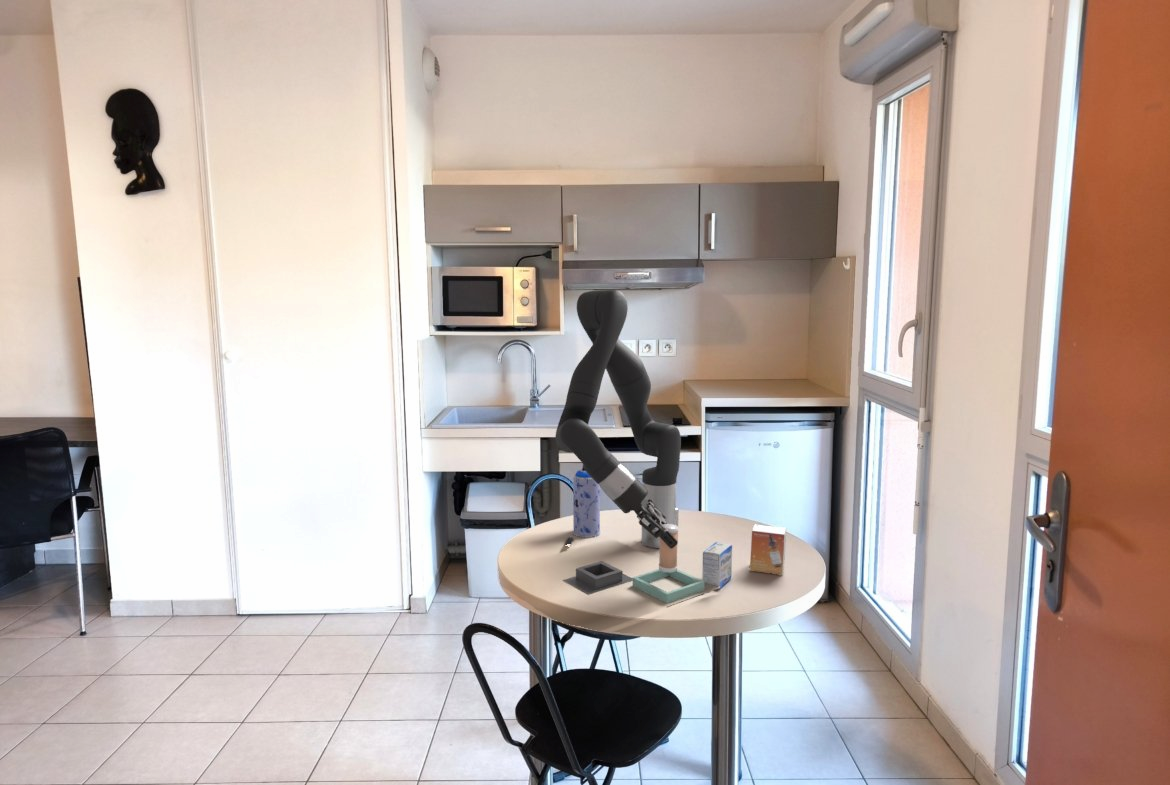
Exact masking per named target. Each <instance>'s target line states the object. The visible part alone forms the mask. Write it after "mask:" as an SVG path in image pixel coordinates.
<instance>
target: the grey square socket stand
mask: <svg viewBox="0 0 1170 785" xmlns="http://www.w3.org/2000/svg"><path fill="white" fill-rule="evenodd" d="M562 582H564V583H566V584H568V585H569V586H572V587H573V588H575V589H577V590H579V591H581V592H582V593H584V594H586V595H588V596H590V595H593V594H595V593H598V592H601V591H604V590H607V589H610V588H614V587H617V586H620V585H624V584H626V583H630V582H633V577H631V576H629V575H627V574H625V573H623V571H622V570H621V569H619V568H617V567H615V566H612V565H611V564H608V563H606V562H605V561H602V560H601V561H597V562H594V563H591V564H587V565H584V566H580V567H576V568H575V576H572V577H569V578H566V579H562Z"/></svg>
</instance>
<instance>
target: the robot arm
mask: <svg viewBox="0 0 1170 785" xmlns="http://www.w3.org/2000/svg"><path fill="white" fill-rule="evenodd" d="M576 313H577V316H578V320H579V322H580V325H581V326H582V328H583V330H584V331H585V333H586V336H587V337H588V338H589V340H590V342H591V343H592V345H591V347H590V348H589V350H588V351H587V352H586V353H585V355H584V356H583V357H582V358H581V359H580V361H579V362H578V364H577V365H576V367H575V369H574V371H573V372H572V375H571V379H570V382H569V387H568V391H567V394H566V399H565V403H564V404H565V405H564V407H563V410H562V413H561V415H560V418H559V421H558V423H557V427H556V430H555V431H556V432H555V436H554V437H555V443H556V445H557V447H558V448H559V450H561V451H563V452H564V453H573V455H574V456H576V458H577V459H578V460H580V462H581V463H582V466H583V467H584V469H585V471H586V472H587V473H588V474H589V475H590V476H591V478H592V479H593V480H594V481H595V482H596V483H597V484H598V485H599V486H600V490H602V491H603V493H604V494H605V495H606V496H607V497H608V498H609V499H610V500H611V501H612V502H613V503H614V504H615V505H616V506H617V508H619V509H620V510H621V511H622V512H623V514H629V513H630V512H632V511H633V512H634V513H635V514H636V518H637V520H638V523H639V525H640V527H641V544H642V545H643V546H646V547H648V548H655V549H660V538H661V539H662V540H663V541H664V542H665V543H666V544H667V545H668V546H669V547H670V548H671V549H672V548H674V547H675V546H676V545H677V546H678V543H679V540H678V541H677V540H676V539H675V538H674V537H673V536H672V535H671V534H670V533H669V532H668V531H667V529H666V528H665V527H664V526H663V524H673V525H677V526H678V527H679V508H678V507H677V478H678V473H679V471H680V470H679V469H680V459H681V448H682V447H681V446H682V436H681V433H680V429H679V428H678V426H675V425H674V424H669V423H664V422H663V423H662V422H657V421H655V420H654V419H653V418H652V415H651V413H650V411H649V408H648V401H649V398H650V394H651V389H652V384H651V379H650V377H649V374H648V372H647V369H646V367H645V365H644V363H643V360H641V358H640V357H639V356H638V355H637V354H636V353H635V352H634V350H632V349H631V348H630V347H628V346H627V345H626V344H625V343H624V342H622V341H621V339H619V337H620V335H621V333H622V330H623V328H624V327H625V326H624V325H625V322H626V321H627V320H626V319H627V316H628V301H627V299H626V296H625V295H624V293H623V292H622V291H620V290H618V289H602V290H600V289H599V290H589V291H585V292H583V293H581V294H580V295H579V296H578V298H577V301H576ZM605 371H606V372H607V374H608V377H609V379H610V380H609V381H610V382H611V384H612V387H613V389H614V391H615V393H616V395H617V396H618V399H619V401H620V403H621V405H622V408H623V410H624V412H625V413H624V414H626V417H627V419H628V422H629V423H628V424H629V426H630V428H631V432H632V435H633V438H634V442H635V445H636V446H637V449H638V450H639V451H640V452H641V454H643V455H646V456H650V457H654V458H656V465H655V466H652V467H649V468H646V469H644V470H643V471H642V474H641V475H642V476H641V477H642V478H641V481H642V482H641V481H640V480H639V479H638V478H637V476H635V475H634V474H633V473H632V472H631V471H630V470H629V469H628V468H627V467H626V466H624V464H622V463H621V462H620V461H619V460H618V459H617V458H616V457H615V456H614V455H613V454H612V453H611V451H609V450H608V449H607V448H606V447H605V445H604V443H603V442H602V441H601V439H600V438H599V436H598V435H597V434H596V432H595V431H594V430H593V429H592V427H591V426H590V425H589V423H590V418H591V416H592V413H593V412H594V411H595V408H596V406H597V401H598V399H599V393H600V389H601V386H602V385H601V384H602V382H603V378H604V375H605Z"/></svg>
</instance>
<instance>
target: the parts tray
mask: <svg viewBox="0 0 1170 785" xmlns="http://www.w3.org/2000/svg"><path fill="white" fill-rule="evenodd" d="M666 577H670V578H673V579H675V580H676V581H679V582H682V583H684V584H686V585H685V586H681V587H680V588H679V587H678V588H676V589H673V590H670V591H665V590H663V589H661V588H659V587H658V586H655V585H654V584H652V583H651V582H655V581H658V580H661V579H663V578H666ZM632 578H633V581H632V587H634V588H635V589H638V590H640V591H642V592H643V593H646V594H648V595H649V596H652V597H653V598H656V599H658V600H660V601H662V602H664V603H666V604H669V603H672V602H675V601H678V600H681V599H684V598H686V597H689V596H691V595H695V594H697V593H700V592H703V591H705V583H704V581H702V579H700V578H697V577H695V576H693V575H691V574H689V573H686V572H684V571H682V570H679V569H677V571H676V572H672V573H667V572H662V571H660V570H659V568H658V569H655V570H652V571H648V572H646V573H642V574H639V575H636V576H633V577H632ZM703 595H704V593H700V594H698V595H696V596H693V597H690V598H687V599H685V600H682V601H679V602H676V603H673V604H670V605H668V606H667V608H671V607H672V606H675V605H678V604H681V603H683V602H686V601H689V600H691V599H692V600H693V599H694V598H696V597H697V598H698V597H700V596H703Z"/></svg>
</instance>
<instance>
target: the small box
mask: <svg viewBox="0 0 1170 785" xmlns="http://www.w3.org/2000/svg"><path fill="white" fill-rule="evenodd" d="M750 538H751V541H750V560H749V561H750V562H749V571H751V572H758V573H765V574H770V573H772V575H776V574H780V575H779V576H783V574H784V570H785V564H786V562H785V560H786V542H787V527H781V526H771V525H770V526H769V525H762V524H754V525H753V527H752V530H751V537H750Z"/></svg>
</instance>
